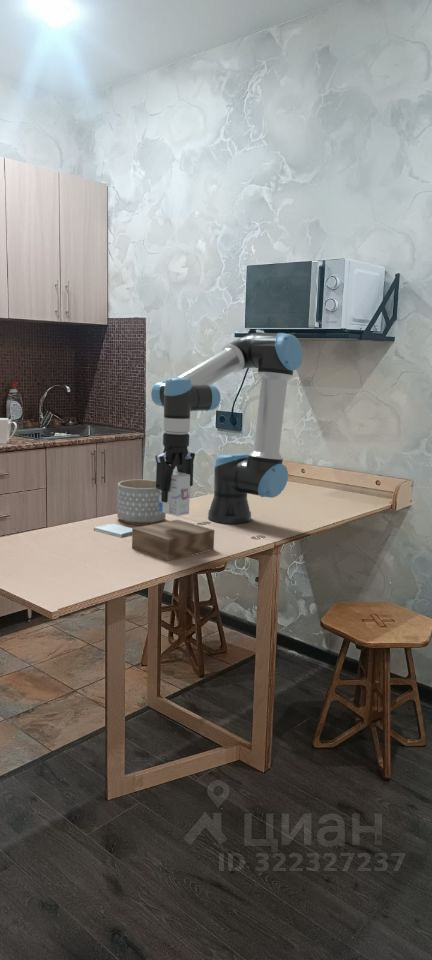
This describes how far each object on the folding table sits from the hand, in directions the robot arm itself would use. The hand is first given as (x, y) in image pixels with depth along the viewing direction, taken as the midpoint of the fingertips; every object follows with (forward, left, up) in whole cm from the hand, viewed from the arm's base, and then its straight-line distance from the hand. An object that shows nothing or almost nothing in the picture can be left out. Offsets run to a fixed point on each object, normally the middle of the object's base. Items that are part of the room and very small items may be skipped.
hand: (173, 511), depth 205 cm
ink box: (0, 0, -1) cm, 1 cm away
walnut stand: (0, 0, -11) cm, 11 cm away
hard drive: (+1, -26, -12) cm, 29 cm away
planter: (-15, -33, -12) cm, 38 cm away
